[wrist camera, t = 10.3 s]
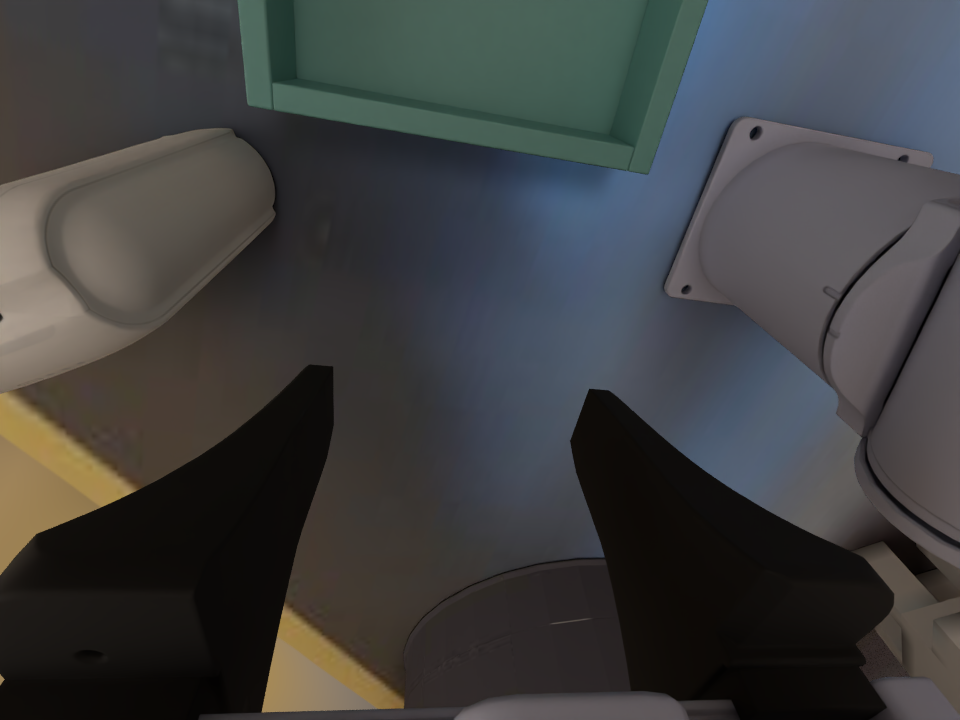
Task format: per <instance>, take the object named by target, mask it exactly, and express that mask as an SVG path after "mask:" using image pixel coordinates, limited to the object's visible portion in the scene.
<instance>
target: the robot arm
mask: <svg viewBox="0 0 960 720" xmlns="http://www.w3.org/2000/svg"><path fill="white" fill-rule="evenodd" d="M754 127H757V133H756V135H755V136H754V137H753V138H751V139H750V136H749V135H750V132H751V130H752V129H753V128H754ZM899 157H901V159H900V161H897V160H898V159H899ZM932 163H933V156H932V154H930V153H928V152H923V151H918V150H913V149H908V148H903V147H897V146H892V145H887V144H882V143H877V142H872V141H867V140H862V139H857V138H852V137H847V136H842V135H837V134H832V133H827V132H821V131H816V130H811V129H806V128H801V127H796V126H791V125H786V124H781V123H776V122H771V121H766V120H761V119H756V118H750V117H740V118H738V119H736V120H735V121H734V122H733V123H732V125H731V126H730V128H729V130H728V133H727V135H726V138H725V140H724V142H723V145H722V147H721V150H720V152H719V155H718V157H717V159H716V162H715V164H714V167H713V169H712V171H711V174H710V176H709V179H708V181H707V184H706V186H705V188H704V191H703V193H702V196H701V198H700V200H699V203H698V205H697V208H696V210H695V213H694V215H693V217H692V220H691V222H690V225H689V227H688V229H687V232H686V234H685V237H684V239H683V242H682V244H681V246H680V249H679V251H678V254H677V256H676V259H675V261H674V263H673V266H672V268H671V271H670V273H669V275H668V278H667V280H666V283H665V286H664V290H665V292H666V293H667V294H668V295H669V296H670V297H674V298H682V299H689V300H697V301H705V302H712V303H720V304H728V305H735V306H737V307H738V308H739V309H740V310H742V311H743V312H744V313H745V314H746V315H747V316H749V317H750V318H751V319H752V320H753V321H754V322H756V323H757V324H758V325H759V326H760V327H762V328H763V329H764V330H765V331H766V332H767V333H769V334H770V335H771V336H772V337H773V338H774V339H776V340H777V341H778V342H779V343H780V344H781V345H783V346H784V347H785V348H786V349H787V350H789V351H790V352H791V353H792V354H793V355H794V356H796V357H797V358H798V359H799V360H800V361H801V362H803V363H804V364H805V365H806V366H807V367H809V368H810V369H811V370H812V371H813V372H814V373H816V374H817V375H818V376H819V377H820V378H821V379H823V380H824V381H825V382H826V383H827V384H828V385H830V386H831V387H832V388H833V389H834V390H835V391H836V393H837V395H838V399H839V405H838V409H837V412H836V414H837V415H838V416H839V417H840V418H841V419H842V420H843V421H845V422H846V423H847V424H848V425H849V426H850V427H851V428H852V429H853V430H854V431H856V432H857V433H858V434H859V435H860V436H861V437H863V438H862V439H861V441H860V443H859V445H858V447H857V450H856V453H855V457H854V464H855V473H856V476H857V479H858V482H859V484H860V486H861V488H862V489H863V491H864V493H865V495H866V496H867V498H868V499H869V500H870V501H871V503H872V504H873V505H874V506H875V508H876V509H877V510H878V511H879V512H880V513H881V514H882V515H883V516H884V517H885V518H886V519H887V520H888V521H889V522H890V523H891V524H892V525H894V526H895V527H896V528H897V529H899V530H900V531H901V532H902V533H903V534H905V535H906V536H907V537H908V538H910V539H911V540H913V541H914V542H916V543H917V544H918V545H920V546H921V547H923V548H924V549H926V550H927V551H929V552H930V553H932V554H934V555H935V556H937V557H939V558H941V559H943V560H944V561H946V562H948V563H950V564H952V565H953V566H955V567H957V568H959V569H960V175H958V174H954V173H950V172H945V171H941V170H937V169H932V168H930V167H931V165H932ZM685 285H688V288H687V289H686V290H685V291H681V289H682V288H683V287H684V286H685ZM333 426H334V405H333V367H332V366H321V365H308V366H307V367H305V368H304V369H303V370H302V371H301V372H300V373H299V374H298V375H297V377H296V378H295V379H294V380H293V381H292V382H291V383H290V384H289V385H287V386H286V387H285V388H284V389H283V390H282V391H281V392H280V393H279V394H278V395H277V396H276V397H275V398H274V399H273V400H271V401H270V402H269V403H268V404H267V405H266V406H265V407H264V408H263V409H262V410H260V411H259V412H258V413H257V414H256V415H254V416H253V417H252V418H251V419H249V420H248V421H247V422H246V423H245V424H243V425H242V426H241V427H240V428H238V429H237V430H236V431H235V432H233V433H232V434H231V435H229V436H228V437H226V438H225V439H224V440H222V441H221V442H220V443H218V444H217V445H215V446H214V447H212V448H211V449H209V450H208V451H206V452H205V453H203V454H202V455H200V456H199V457H197V458H195V459H194V460H192V461H190V462H189V463H187V464H185V465H183V466H182V467H180V468H178V469H176V470H175V471H173V472H171V473H169V474H168V475H166V476H164V477H163V478H161V479H159V480H157V481H155V482H153V483H151V484H149V485H147V486H145V487H143V488H141V489H139V490H137V491H136V492H133V493H131V494H129V495H127V496H125V497H123V498H121V499H119V500H117V501H114V502H112V503H110V504H108V505H106V506H103V507H101V508H99V509H97V510H94V511H92V512H90V513H87V514H85V515H82V516H80V517H77V518H75V519H73V520H70V521H68V522H65V523H63V524H60V525H58V526H56V527H53V528H51V529H48V530H45V531H43V532H40V533H38V534H36V535H35V536H34V537H33V539H32V540H31V541H30V542H29V543H28V544H27V545H26V546H25V547H24V548H23V549H22V550H21V551H20V552H19V553H18V555H17V556H16V557H15V558H14V559H13V560H12V562H11V563H10V564H9V566H8V567H7V568H6V569H5V570H4V572H3V573H2V574H1V575H0V674H1V676H2V677H3V678H4V679H5V680H4V681H3V682H2V684H1V685H0V720H960V715H959V714H958V712H957V711H956V710H955V709H954V707H953V706H952V705H951V704H950V702H949V701H948V700H947V699H946V697H945V696H944V695H943V694H942V692H941V691H940V690H939V689H938V687H937V686H936V685H935V684H934V682H933V681H932V680H931V679H930V678H927V677H886V678H880V679H877V680H874V681H871V682H869V681H868V679H867V678H866V676H865V675H864V673H863V672H862V671H861V669H860V668H859V666H863V665H864V664H866V660H865V657H864V656H863V655H862V653H861V652H860V650H859V649H858V648H857V646H856V645H855V644H856V643H857V642H858V641H859V640H860V639H862V638H863V637H864V636H865V635H866V634H868V633H869V632H870V631H871V630H872V629H874V628H875V627H876V626H877V625H878V624H879V623H881V622H882V621H883V620H884V619H885V618H886V617H887V616H888V615H889V613H890V612H891V610H892V608H893V606H894V593H893V591H892V590H891V589H890V588H889V586H888V585H887V584H886V583H885V582H884V580H883V579H882V578H881V577H880V576H879V575H878V573H877V572H876V571H875V570H874V569H873V567H872V566H871V565H870V564H869V563H868V561H867V560H866V559H865V558H864V557H862V556H860V555H858V554H856V553H853V552H851V551H849V550H847V549H844V548H842V547H840V546H838V545H835V544H833V543H831V542H829V541H827V540H824V539H822V538H820V537H818V536H815V535H813V534H811V533H809V532H807V531H805V530H803V529H801V528H799V527H797V526H795V525H793V524H792V523H790V522H788V521H786V520H784V519H782V518H780V517H778V516H776V515H775V514H773V513H771V512H769V511H767V510H765V509H764V508H762V507H760V506H759V505H757V504H755V503H754V502H752V501H750V500H749V499H747V498H745V497H744V496H742V495H740V494H739V493H737V492H735V491H734V490H732V489H731V488H729V487H728V486H726V485H725V484H723V483H722V482H720V481H719V480H717V479H716V478H714V477H713V476H712V475H710V474H709V473H707V472H706V471H704V470H703V469H702V468H700V467H699V466H698V465H696V464H695V463H694V462H692V461H691V460H690V459H688V458H687V457H686V456H685V455H683V454H682V453H681V452H680V451H678V450H677V449H676V448H675V447H673V446H672V445H671V444H670V443H669V442H668V441H666V440H665V439H664V438H663V437H662V436H660V435H659V434H658V433H657V432H656V431H655V430H654V429H652V428H651V427H650V426H649V425H648V424H647V423H646V422H645V421H644V420H642V419H641V418H640V417H639V416H638V415H637V414H636V413H635V412H634V411H632V410H631V409H630V408H629V407H628V406H627V405H626V404H625V403H623V402H622V401H621V400H620V399H619V398H618V397H617V396H615V395H614V394H613V393H612V392H610V391H609V390H597V389H589V391H588V394H587V396H586V399H585V402H584V405H583V407H582V410H581V413H580V416H579V418H578V421H577V424H576V427H575V429H574V432H573V435H572V438H571V440H570V442H571V448H572V454H573V459H574V464H575V468H576V473H577V476H578V479H579V482H580V485H581V488H582V491H583V493H584V496H585V499H586V502H587V505H588V508H589V511H590V513H591V516H592V519H593V522H594V525H595V528H596V530H597V533H598V536H599V539H600V542H601V545H602V549H603V552H604V555H605V559H606V564H607V568H608V572H609V576H610V581H611V585H612V589H613V594H614V599H615V604H616V608H617V613H618V618H619V623H620V628H621V634H622V640H623V645H624V651H625V656H626V662H627V668H628V675H629V682H630V689H631V691H627V692H585V693H544V694H514V695H507V696H500V697H493V698H487V699H485V700H482V701H480V702H477V703H475V704H472V705H470V706H467V707H444V708H408V709H372V710H338V711H302V712H266V713H261V712H262V707H263V702H264V696H265V692H266V687H267V682H268V676H269V671H270V666H271V662H272V657H273V652H274V647H275V643H276V638H277V633H278V628H279V624H280V619H281V615H282V610H283V606H284V601H285V597H286V592H287V588H288V583H289V579H290V575H291V570H292V566H293V562H294V558H295V553H296V549H297V545H298V542H299V539H300V535H301V532H302V529H303V526H304V523H305V520H306V517H307V514H308V511H309V509H310V506H311V503H312V500H313V497H314V494H315V491H316V488H317V485H318V483H319V480H320V477H321V474H322V471H323V468H324V465H325V462H326V459H327V455H328V450H329V446H330V441H331V436H332V431H333Z"/></svg>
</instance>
